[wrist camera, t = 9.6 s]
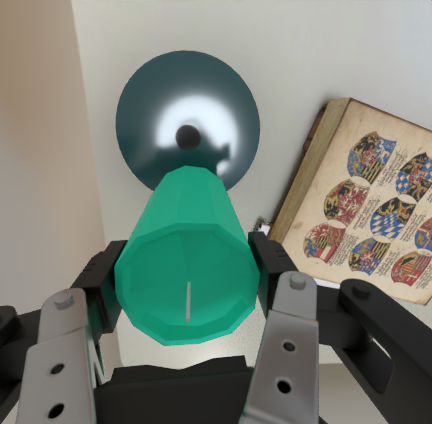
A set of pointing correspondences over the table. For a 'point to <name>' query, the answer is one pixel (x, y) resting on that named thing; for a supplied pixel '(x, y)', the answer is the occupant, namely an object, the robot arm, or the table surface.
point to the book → (362, 202)
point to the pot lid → (187, 119)
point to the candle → (187, 263)
